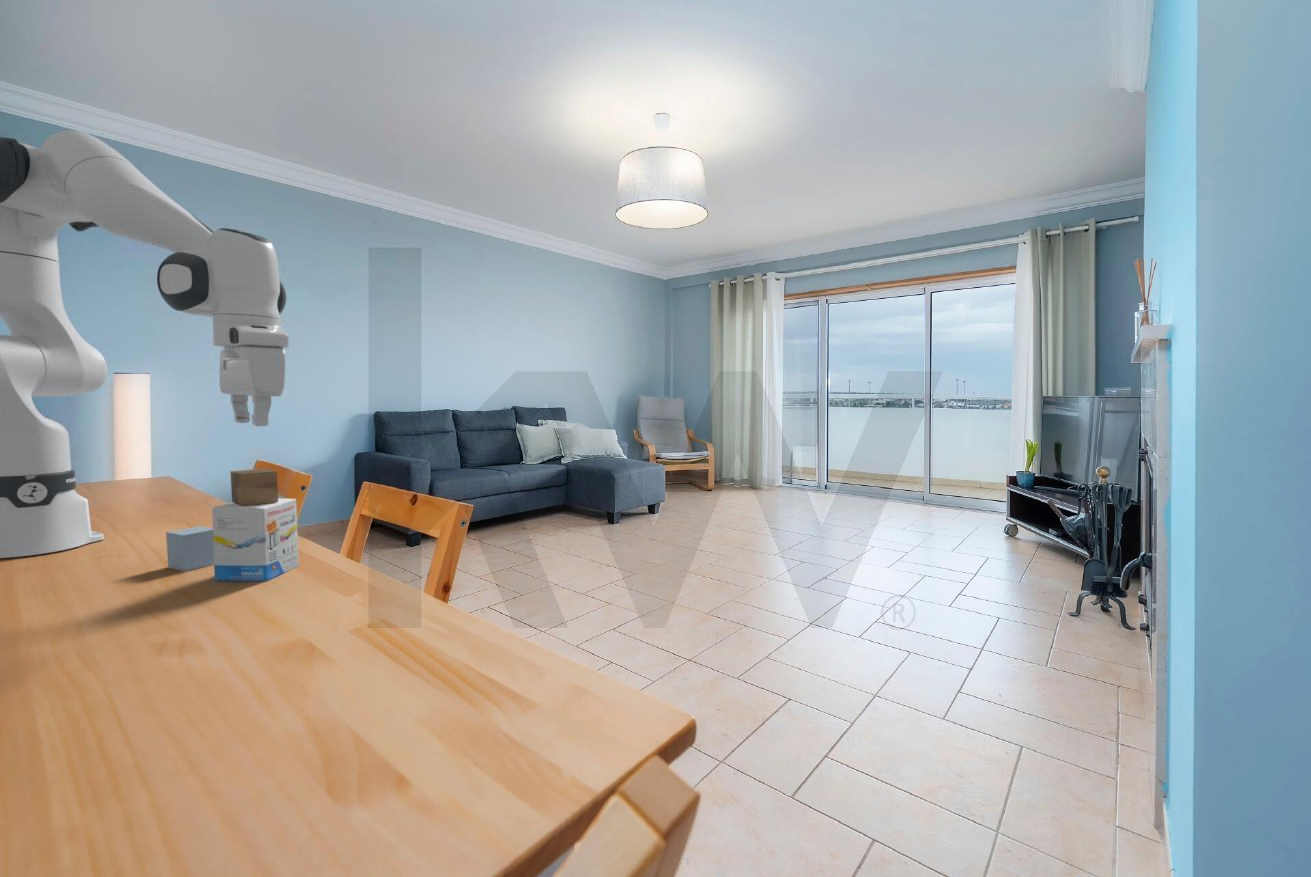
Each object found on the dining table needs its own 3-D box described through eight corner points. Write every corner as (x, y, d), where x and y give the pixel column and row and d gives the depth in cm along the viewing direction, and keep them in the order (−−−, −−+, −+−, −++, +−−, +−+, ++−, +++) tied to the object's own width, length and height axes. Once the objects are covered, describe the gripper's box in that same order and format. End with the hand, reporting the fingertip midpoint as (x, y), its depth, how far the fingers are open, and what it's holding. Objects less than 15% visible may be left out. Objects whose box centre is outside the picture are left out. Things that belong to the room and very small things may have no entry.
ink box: (267, 582, 92) (263, 507, 91) (213, 581, 92) (209, 506, 91) (301, 565, 100) (298, 497, 99) (251, 565, 100) (248, 496, 100)
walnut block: (232, 502, 95) (230, 471, 95) (267, 498, 99) (266, 468, 98) (241, 506, 92) (239, 474, 91) (278, 501, 95) (276, 470, 95)
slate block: (168, 567, 99) (166, 532, 98) (201, 560, 103) (200, 526, 103) (184, 571, 97) (182, 535, 96) (218, 563, 101) (216, 529, 101)
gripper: (206, 337, 97) (209, 421, 99) (243, 331, 84) (246, 428, 85) (251, 340, 102) (254, 420, 103) (293, 335, 89) (295, 427, 90)
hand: (251, 424), depth 94 cm, fingers open, 8 cm apart
